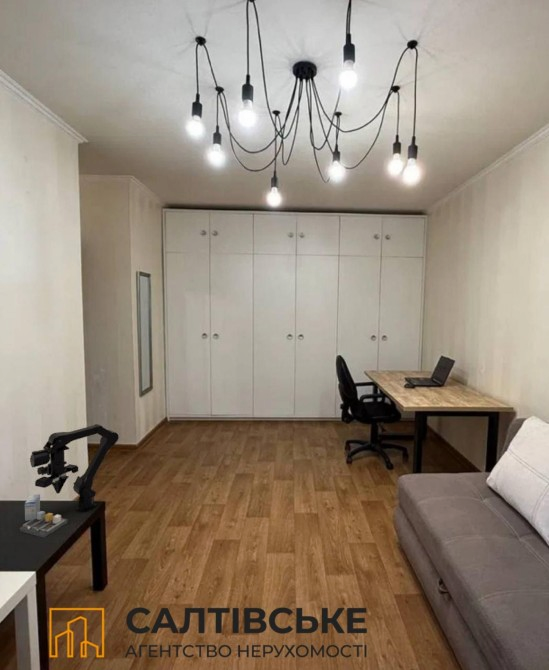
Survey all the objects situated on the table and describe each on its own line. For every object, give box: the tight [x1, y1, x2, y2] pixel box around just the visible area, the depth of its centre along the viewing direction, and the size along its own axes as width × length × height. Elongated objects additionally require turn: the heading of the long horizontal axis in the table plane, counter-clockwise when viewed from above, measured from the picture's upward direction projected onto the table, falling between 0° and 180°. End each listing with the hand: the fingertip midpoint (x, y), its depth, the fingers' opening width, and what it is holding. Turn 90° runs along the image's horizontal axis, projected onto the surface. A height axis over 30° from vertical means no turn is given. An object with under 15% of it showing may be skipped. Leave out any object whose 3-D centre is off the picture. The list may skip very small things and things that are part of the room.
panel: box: [19, 513, 68, 538], centre depth 164 cm, size 12×14×2 cm
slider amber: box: [45, 512, 54, 522], centre depth 166 cm, size 3×2×3 cm
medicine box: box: [24, 493, 41, 522], centre depth 172 cm, size 8×4×9 cm, turn 21°
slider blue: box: [37, 510, 46, 520], centre depth 167 cm, size 3×2×3 cm
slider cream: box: [53, 514, 62, 524], centre depth 164 cm, size 3×2×3 cm
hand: (58, 493), depth 170 cm, fingers closed
